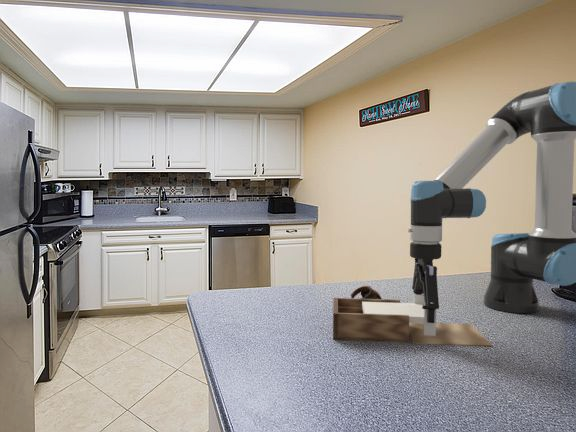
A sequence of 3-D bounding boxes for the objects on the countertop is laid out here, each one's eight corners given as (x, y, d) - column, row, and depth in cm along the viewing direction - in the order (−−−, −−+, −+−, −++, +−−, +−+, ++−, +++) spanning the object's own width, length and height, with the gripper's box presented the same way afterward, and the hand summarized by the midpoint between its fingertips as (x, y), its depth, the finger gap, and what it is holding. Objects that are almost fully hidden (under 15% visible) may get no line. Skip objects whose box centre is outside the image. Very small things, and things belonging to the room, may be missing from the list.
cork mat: (471, 325, 111) (471, 324, 111) (492, 346, 96) (492, 345, 96) (402, 322, 113) (402, 321, 113) (413, 343, 98) (413, 342, 98)
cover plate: (422, 309, 111) (422, 303, 111) (432, 323, 99) (432, 317, 99) (361, 306, 113) (361, 301, 113) (365, 320, 101) (365, 314, 101)
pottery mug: (389, 316, 121) (377, 293, 119) (359, 328, 123) (347, 306, 121) (382, 295, 133) (371, 274, 130) (355, 307, 134) (344, 286, 132)
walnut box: (399, 323, 113) (399, 299, 113) (408, 342, 99) (409, 316, 98) (333, 320, 115) (333, 297, 115) (333, 339, 101) (333, 313, 100)
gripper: (402, 236, 116) (401, 311, 118) (420, 248, 92) (418, 343, 94) (430, 236, 115) (428, 312, 117) (455, 249, 91) (452, 344, 93)
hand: (423, 326), depth 105 cm, fingers closed on cover plate, 12 cm apart
